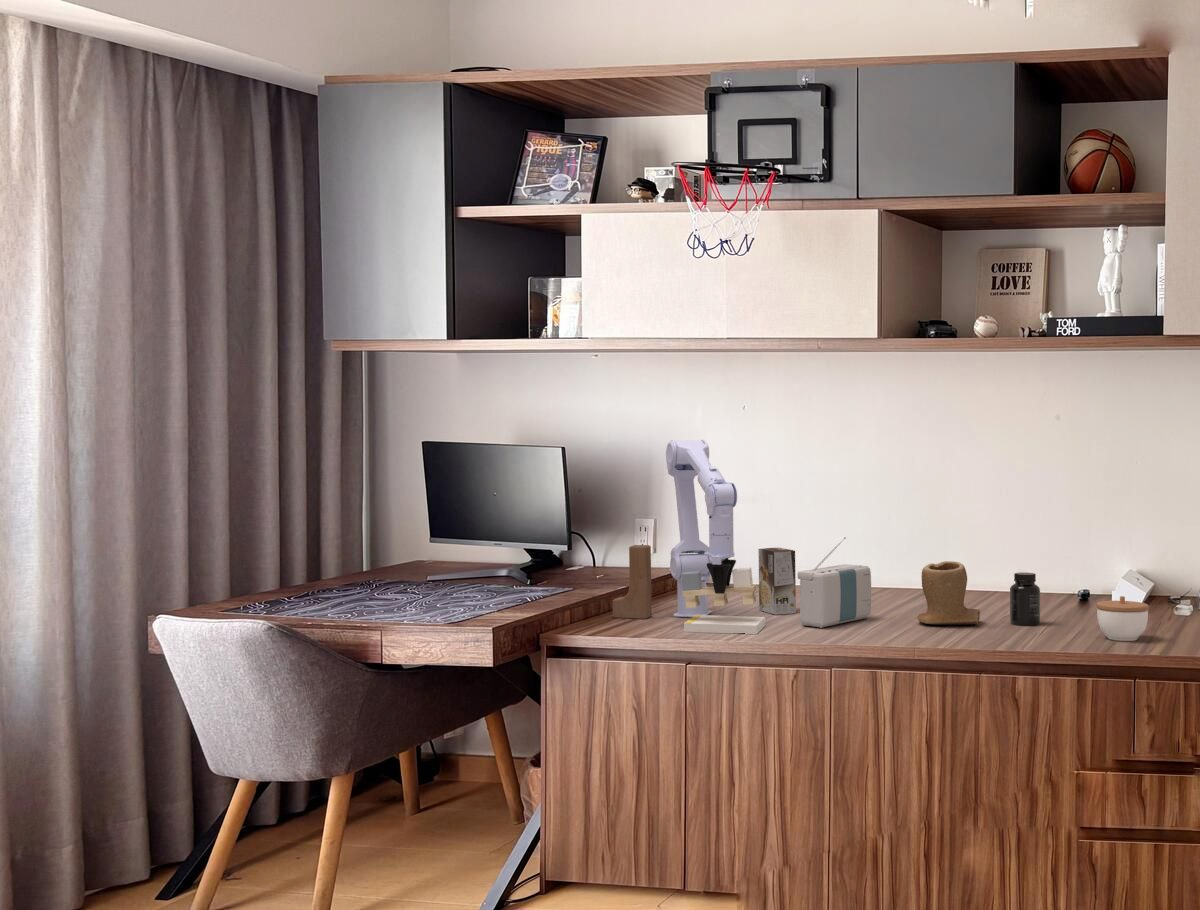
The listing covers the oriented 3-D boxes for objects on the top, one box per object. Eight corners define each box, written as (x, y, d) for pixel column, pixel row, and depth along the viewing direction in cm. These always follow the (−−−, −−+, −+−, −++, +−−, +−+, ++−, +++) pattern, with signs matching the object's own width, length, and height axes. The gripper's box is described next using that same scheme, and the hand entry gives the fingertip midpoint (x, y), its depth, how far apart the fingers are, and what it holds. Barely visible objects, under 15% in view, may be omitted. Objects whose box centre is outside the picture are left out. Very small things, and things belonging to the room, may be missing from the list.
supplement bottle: (1038, 621, 319) (1038, 571, 318) (1041, 626, 312) (1041, 575, 312) (1008, 621, 320) (1008, 571, 320) (1011, 625, 314) (1011, 575, 313)
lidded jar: (1149, 636, 297) (1149, 594, 297) (1148, 644, 287) (1148, 600, 287) (1097, 633, 301) (1097, 592, 301) (1095, 641, 291) (1095, 598, 291)
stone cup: (921, 629, 311) (921, 564, 310) (914, 621, 323) (914, 559, 322) (988, 629, 309) (987, 564, 309) (978, 621, 321) (978, 559, 321)
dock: (695, 623, 323) (695, 614, 323) (765, 625, 318) (765, 616, 318) (684, 631, 311) (683, 622, 310) (756, 634, 306) (756, 625, 306)
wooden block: (612, 617, 333) (611, 546, 332) (617, 615, 337) (617, 544, 337) (646, 619, 330) (645, 546, 330) (652, 616, 334) (651, 545, 334)
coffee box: (797, 613, 336) (796, 550, 336) (774, 615, 334) (774, 551, 334) (779, 608, 345) (779, 547, 344) (757, 610, 343) (757, 548, 342)
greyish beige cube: (736, 585, 316) (734, 568, 316) (752, 584, 315) (751, 567, 315) (733, 587, 312) (731, 570, 312) (750, 586, 311) (748, 569, 311)
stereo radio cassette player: (824, 630, 311) (823, 544, 311) (795, 626, 317) (794, 542, 316) (873, 619, 326) (872, 537, 326) (844, 616, 332) (844, 536, 331)
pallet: (687, 605, 320) (686, 588, 320) (758, 600, 315) (756, 583, 315) (683, 608, 315) (682, 591, 315) (755, 603, 310) (753, 586, 310)
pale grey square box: (685, 588, 319) (684, 572, 319) (702, 587, 318) (700, 571, 318) (682, 591, 315) (681, 574, 315) (699, 590, 314) (697, 573, 314)
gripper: (709, 531, 322) (710, 587, 323) (699, 537, 308) (699, 595, 309) (738, 531, 321) (739, 588, 321) (729, 537, 307) (729, 596, 307)
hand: (721, 591), depth 315 cm, fingers closed on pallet, 5 cm apart
